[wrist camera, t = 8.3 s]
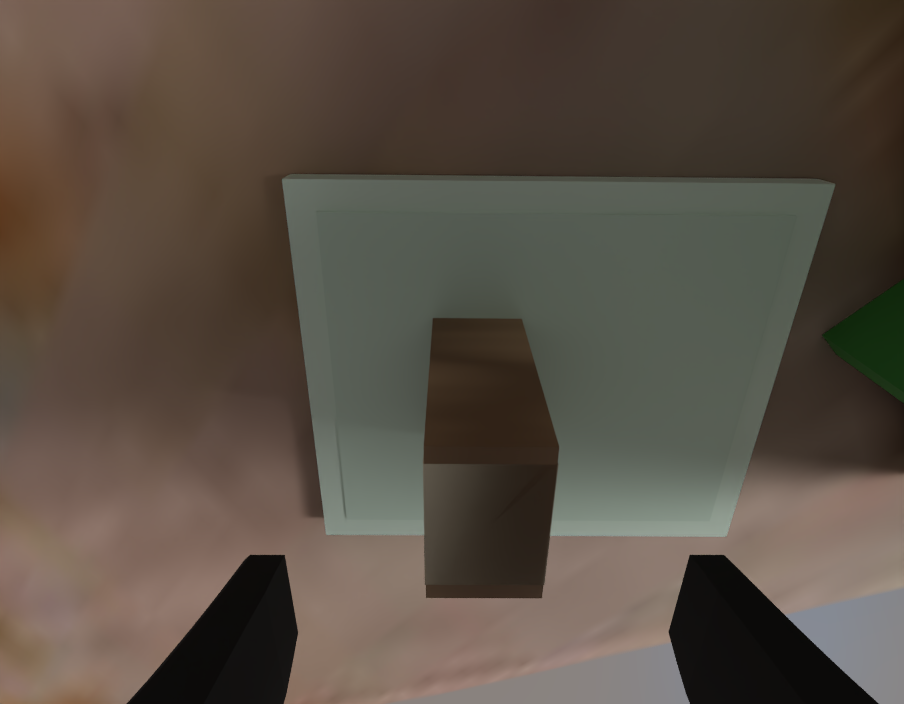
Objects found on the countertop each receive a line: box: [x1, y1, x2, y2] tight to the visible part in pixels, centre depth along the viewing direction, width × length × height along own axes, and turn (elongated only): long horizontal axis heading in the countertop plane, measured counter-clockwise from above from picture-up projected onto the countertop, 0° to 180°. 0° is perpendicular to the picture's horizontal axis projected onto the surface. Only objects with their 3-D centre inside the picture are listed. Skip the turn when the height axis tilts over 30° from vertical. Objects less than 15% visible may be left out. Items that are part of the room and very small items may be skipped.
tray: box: [282, 174, 836, 537], centre depth 17 cm, size 14×12×1 cm
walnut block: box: [423, 318, 559, 598], centre depth 14 cm, size 2×4×6 cm, turn 179°
